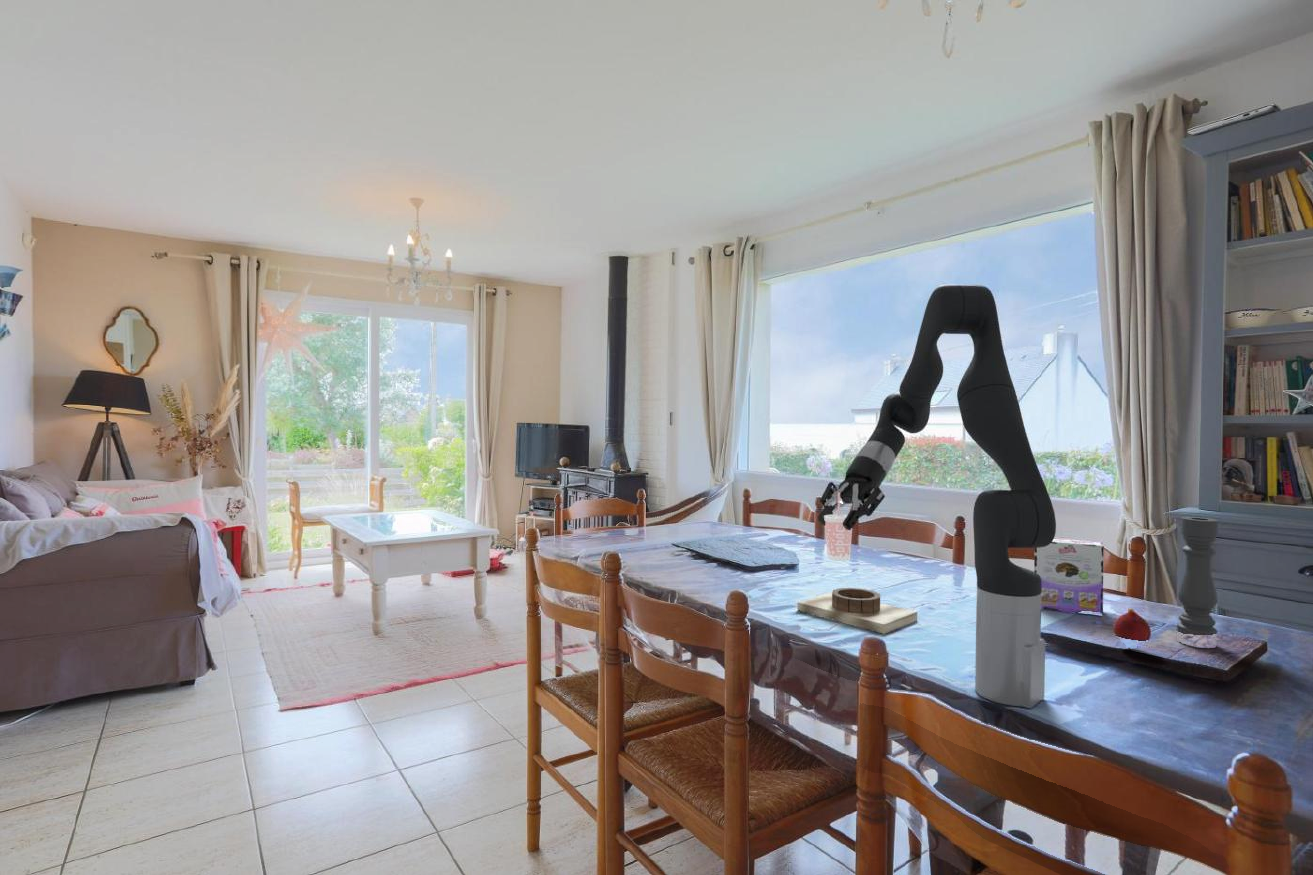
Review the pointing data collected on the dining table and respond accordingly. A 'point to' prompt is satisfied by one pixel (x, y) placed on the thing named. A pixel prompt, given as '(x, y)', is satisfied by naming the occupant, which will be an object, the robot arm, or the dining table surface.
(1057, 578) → the candy box
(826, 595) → the cup stand
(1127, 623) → the onion
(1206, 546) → the candle holder
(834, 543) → the beverage cup
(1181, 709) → the dining table surface
